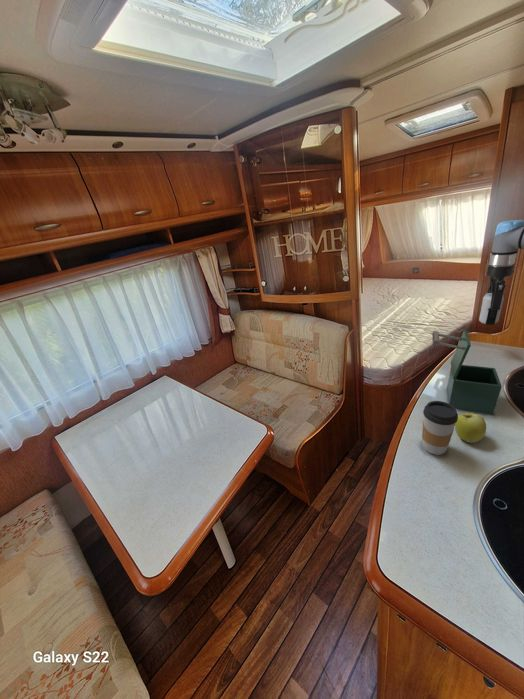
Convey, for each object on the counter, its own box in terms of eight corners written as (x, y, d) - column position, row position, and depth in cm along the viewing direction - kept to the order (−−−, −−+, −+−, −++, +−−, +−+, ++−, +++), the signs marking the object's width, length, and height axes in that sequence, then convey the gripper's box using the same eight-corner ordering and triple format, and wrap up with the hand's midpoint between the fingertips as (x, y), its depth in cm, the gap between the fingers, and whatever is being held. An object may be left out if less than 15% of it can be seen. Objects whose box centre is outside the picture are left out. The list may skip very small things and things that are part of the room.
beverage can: (501, 324, 110) (508, 295, 105) (483, 325, 112) (489, 297, 106) (492, 318, 116) (498, 291, 111) (475, 320, 117) (480, 292, 112)
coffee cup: (419, 434, 88) (424, 397, 82) (449, 441, 84) (458, 403, 78) (417, 453, 82) (423, 414, 76) (450, 461, 78) (460, 422, 71)
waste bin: (487, 395, 100) (495, 368, 95) (493, 415, 91) (501, 386, 86) (446, 389, 106) (451, 363, 101) (448, 407, 97) (453, 380, 92)
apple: (494, 443, 80) (490, 419, 76) (464, 449, 83) (458, 425, 79) (479, 425, 87) (475, 401, 83) (452, 430, 89) (446, 408, 86)
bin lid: (466, 330, 93) (434, 324, 97) (470, 345, 85) (435, 338, 89) (453, 362, 100) (423, 356, 104) (455, 379, 91) (422, 371, 95)
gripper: (520, 270, 94) (505, 330, 104) (508, 259, 109) (495, 313, 119) (493, 271, 98) (480, 329, 108) (484, 260, 113) (474, 312, 123)
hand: (488, 321), depth 113 cm, fingers closed on beverage can, 6 cm apart
